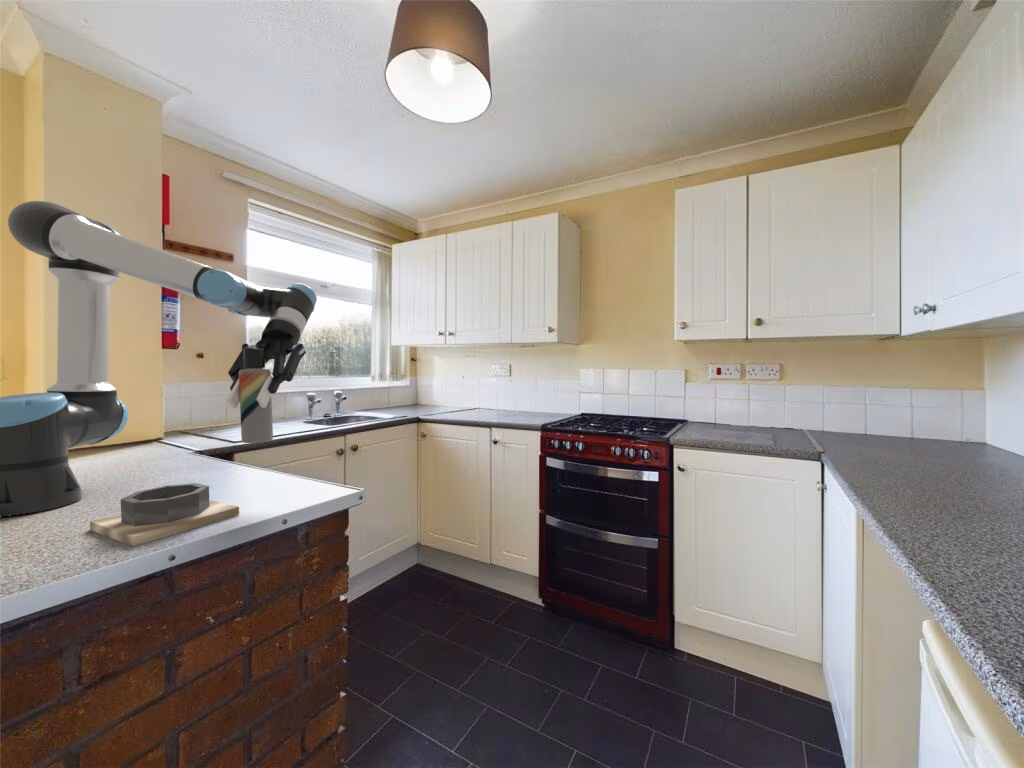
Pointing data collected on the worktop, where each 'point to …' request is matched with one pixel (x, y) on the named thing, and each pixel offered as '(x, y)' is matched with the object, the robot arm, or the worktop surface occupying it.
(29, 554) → the worktop surface
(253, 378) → the lotion bottle
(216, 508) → the holder
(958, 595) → the worktop surface
